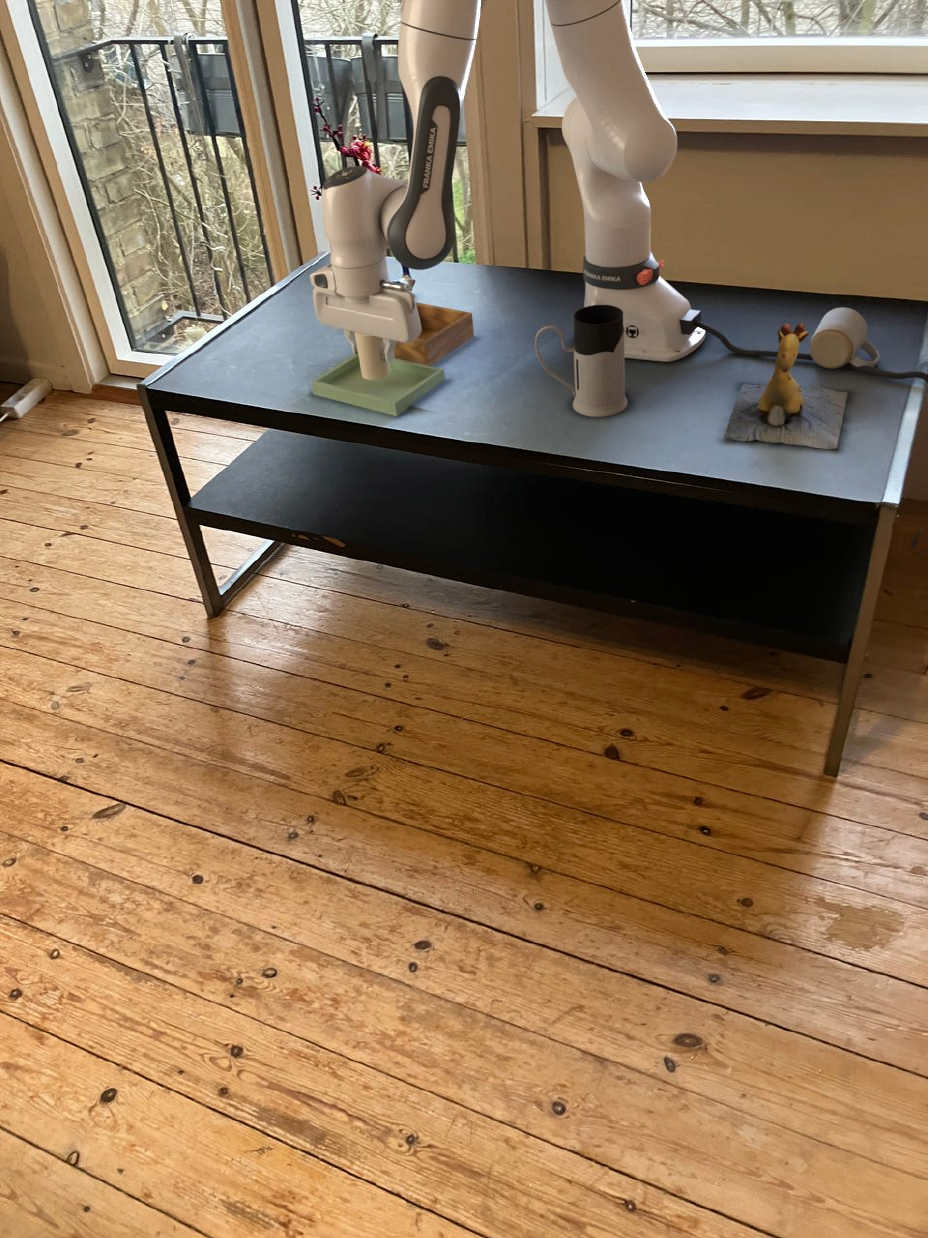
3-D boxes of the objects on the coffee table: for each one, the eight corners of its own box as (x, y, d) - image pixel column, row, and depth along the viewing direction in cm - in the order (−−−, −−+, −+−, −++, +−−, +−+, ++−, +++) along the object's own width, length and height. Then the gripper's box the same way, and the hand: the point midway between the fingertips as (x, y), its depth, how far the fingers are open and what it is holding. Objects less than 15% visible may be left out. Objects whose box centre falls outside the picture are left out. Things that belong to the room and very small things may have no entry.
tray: (445, 382, 179) (444, 369, 178) (396, 416, 171) (394, 403, 170) (363, 362, 189) (361, 350, 187) (313, 394, 181) (310, 381, 179)
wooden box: (474, 339, 192) (471, 312, 189) (430, 369, 184) (426, 342, 181) (416, 327, 199) (412, 301, 196) (371, 355, 191) (367, 329, 188)
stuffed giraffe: (723, 438, 155) (735, 336, 145) (742, 387, 168) (754, 290, 158) (836, 452, 150) (855, 347, 140) (846, 398, 163) (865, 299, 154)
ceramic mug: (804, 368, 170) (810, 323, 165) (817, 347, 176) (823, 303, 171) (871, 378, 166) (879, 332, 161) (882, 356, 171) (891, 311, 166)
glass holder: (630, 414, 164) (630, 323, 155) (540, 421, 165) (534, 331, 156) (624, 389, 171) (624, 300, 162) (538, 395, 172) (532, 308, 163)
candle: (396, 370, 178) (390, 325, 173) (378, 382, 175) (371, 337, 170) (374, 365, 181) (367, 321, 176) (355, 376, 178) (348, 332, 173)
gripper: (423, 278, 164) (433, 360, 173) (327, 261, 175) (340, 339, 183) (399, 292, 160) (410, 375, 169) (301, 274, 171) (317, 353, 179)
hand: (373, 356), depth 176 cm, fingers closed on candle, 5 cm apart
